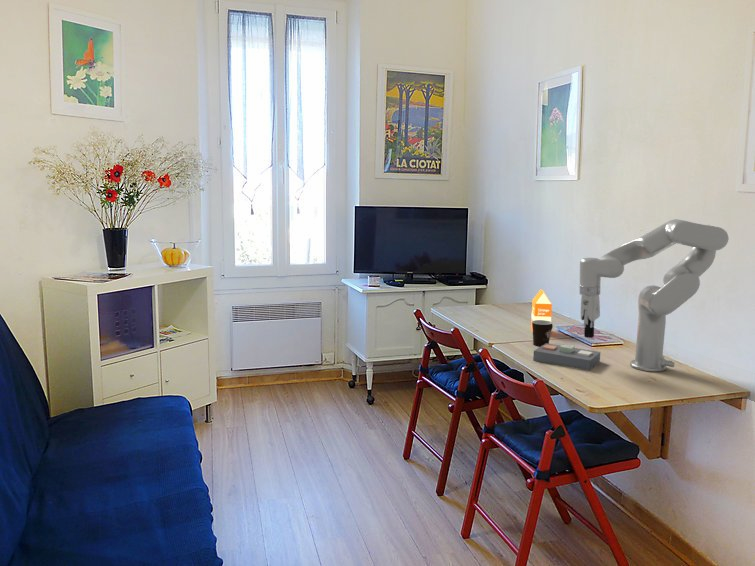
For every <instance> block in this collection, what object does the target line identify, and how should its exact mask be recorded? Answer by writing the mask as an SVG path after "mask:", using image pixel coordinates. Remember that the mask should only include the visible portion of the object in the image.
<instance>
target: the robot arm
mask: <svg viewBox="0 0 755 566" xmlns="http://www.w3.org/2000/svg"><path fill="white" fill-rule="evenodd" d="M729 240H730V239H729V235H728V232H727V230H725V229H724V228H722V227H719V226H714V225H710V224H703V223H702V224H701V223H696V222H691V221H689V220H682V219H676V218H675V219H671V220H669V221H667V222H665V223H663V224H661V225H659V226H657V227H655V228H654V229H652V230H651V231H649V232H647V233H645V234H644V235H642V236H640V237H638V238H636V239H633V240H631V241H630V242H627V243H624V244H622V245H620V246H617V247H616V248H614V249H612V250H610V251H608V252H607V253H605V254H604V255H602V256H601V257H600V258H598V257H583V258H582V259H580V261H579V293H578V294H579V295H581V299H580V320H581V321H583V325H584V331H583V333H584V334H583V335H584V337H585V338H591V339H593V338H594V337H595V321H596V320H597V319H599V318H600V316H601V305H600V303H601V302H600V295H601V278H610V279H616V278H618V277H620V276H621V275H623V273H624V271H625V266H626V265H628V264H630V263H633V262H635V261H640V260H647V259H650V258H653V257H654V256H656V255H658V254H660V253H662V252H663V251H666V250H667V249H669V248H670V247H673V246H675V245H676V244H678V245H683V246H686V247H691V250H690V252H689V253H688V254H687V255H686V256H685V257H684V258H682V260H681V261H679V262H678V263H677V264H675V265H674V266H672V268H670V269H669V270H668V271H666V273H665V274H664V276H663V278H662V279H663V280H662V282H663V284H664V285H663V286H661V287H660V286H658V285H647V286H646V287H643V289H641V291H639V294H638V301H637V302H638V303H637V304H638V305H637V307H638V320H637V321H638V322H637V332H636V343H635V356H634V359H633V360H630V363H629V365H630V366H631V367H632V368H634V369H637V370H640V371H645V372H657V373H658V372H663V371H665V370H666V369H667V367H668V368H669V367H671V368H675V366H676V365H675V362H674V361H673V360H668V359H666V358H665V355H663V354H664V344H665V335H666V334H665V333H666V324H667V321H666V316H667V315H669V314H672V313H673V312H674V311H676V310H677V309H678V308H680V307H681V306H682V305H683V304H685V303H686V302H687V301H688V300H690V299H691V298H692V297H693V296H694V295H695V294H696V293H697V292H698V291H699V288H700V285H701V281H700V277H701V276H702V275H703V274H704V273H705V272H706V271H708V270H709V268H711V266H712V265H713V263H714V261H715V258H716V255H717V251H720V250H722V249H723V248H725V247H726V246H727V244H728V243H729Z"/></svg>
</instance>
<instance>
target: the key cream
mask: <svg viewBox="0 0 755 566" xmlns="http://www.w3.org/2000/svg"><path fill="white" fill-rule="evenodd" d="M578 355H581V356H587V357H590V356H591V355H592V352H589V351H583V350H581V351H579V352H578Z"/></svg>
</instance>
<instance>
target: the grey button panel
mask: <svg viewBox="0 0 755 566" xmlns="http://www.w3.org/2000/svg"><path fill="white" fill-rule="evenodd" d="M545 345H552V346H557V349H556V350H554V351H551V350H545V349H542V348H543V346H545ZM560 346H561V345H560V344H559V345H558V344H553V343H549V344H548V343H546V344H544V345H542V346H541V347H540V346H538V348H535V350H533V357H532V358H533V360H532V361H535V362H539V363H545V364H551V365H555V366H556V365H557V366H563V367H566V368H573V369H577V370H578V369H579V370H582V371H583V370H584V371H591V370H592V369H594V367H596V366H597V365H598V364H599V363H600V362H601V351H597V350H590V349H584V348H578V347H575V349H574V352H573V353H572V354H569V353H563V352H560ZM581 350H583V351H589V352H592V355H591V356H590V357H587V356H581V355H578V352H579V351H581Z"/></svg>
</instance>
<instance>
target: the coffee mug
mask: <svg viewBox="0 0 755 566" xmlns="http://www.w3.org/2000/svg"><path fill="white" fill-rule="evenodd" d="M553 327H554V325H553V321H551V322H550V321H546V320H534V321H532V331H533V332H532V331H531V332H532V340H533V341H532V342H533V343H532V345H534V346H536V347H541V346H542V345H544V344H546V343H548V344H550V339H551V334H552V330H553Z"/></svg>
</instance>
